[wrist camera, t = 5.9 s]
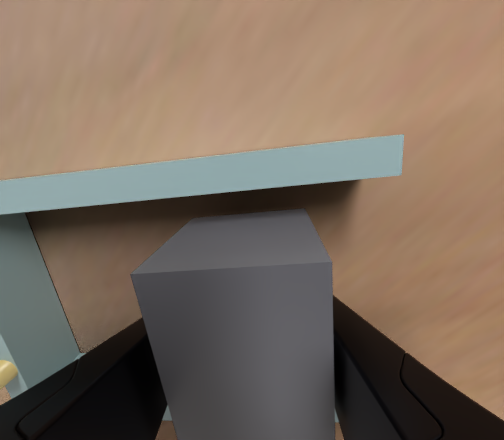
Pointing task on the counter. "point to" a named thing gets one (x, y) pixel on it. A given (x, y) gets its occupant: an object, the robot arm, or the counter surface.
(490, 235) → the counter surface
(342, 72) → the counter surface
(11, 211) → the u-shaped coat rack
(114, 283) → the counter surface
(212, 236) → the plug block
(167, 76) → the counter surface
